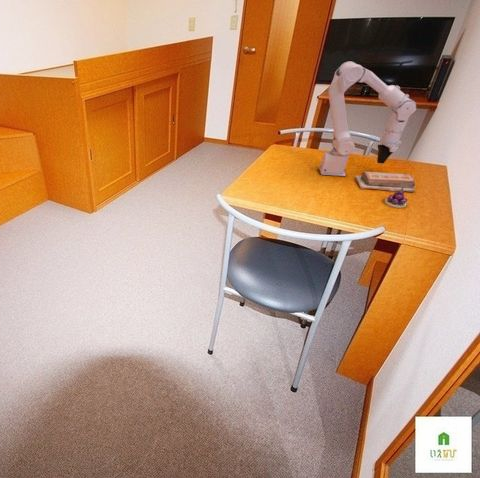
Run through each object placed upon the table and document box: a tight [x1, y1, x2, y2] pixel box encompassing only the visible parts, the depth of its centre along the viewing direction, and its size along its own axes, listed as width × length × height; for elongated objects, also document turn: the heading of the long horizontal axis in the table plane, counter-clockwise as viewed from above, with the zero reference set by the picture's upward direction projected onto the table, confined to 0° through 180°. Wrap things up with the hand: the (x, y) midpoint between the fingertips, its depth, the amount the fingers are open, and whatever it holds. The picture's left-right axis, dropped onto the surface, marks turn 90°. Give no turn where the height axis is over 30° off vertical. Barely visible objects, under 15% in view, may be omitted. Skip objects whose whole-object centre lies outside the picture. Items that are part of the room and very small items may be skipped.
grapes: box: [384, 187, 408, 209], centre depth 116 cm, size 6×6×7 cm
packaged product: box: [355, 170, 416, 193], centre depth 128 cm, size 18×5×10 cm
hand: (380, 162), depth 135 cm, fingers closed
